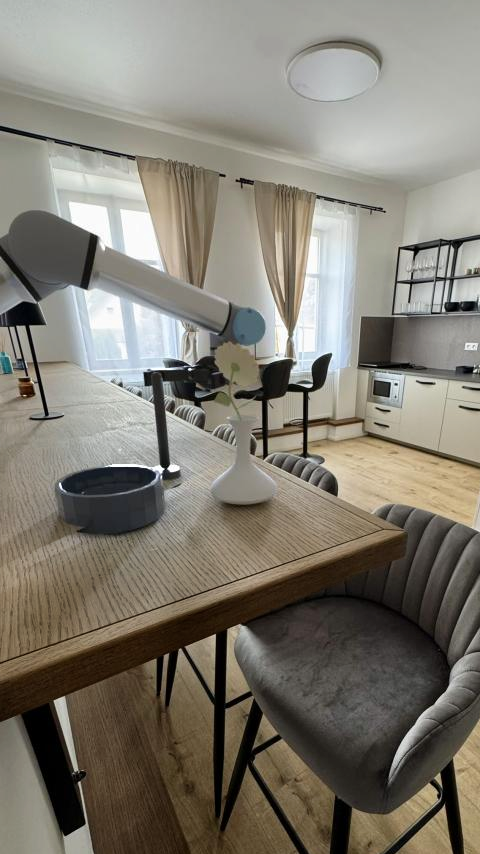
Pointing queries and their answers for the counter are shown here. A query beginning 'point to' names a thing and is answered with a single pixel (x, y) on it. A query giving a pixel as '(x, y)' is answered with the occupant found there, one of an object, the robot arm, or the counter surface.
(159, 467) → the rod with disc base
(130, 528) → the bowl
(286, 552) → the counter surface
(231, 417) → the flower in vase
